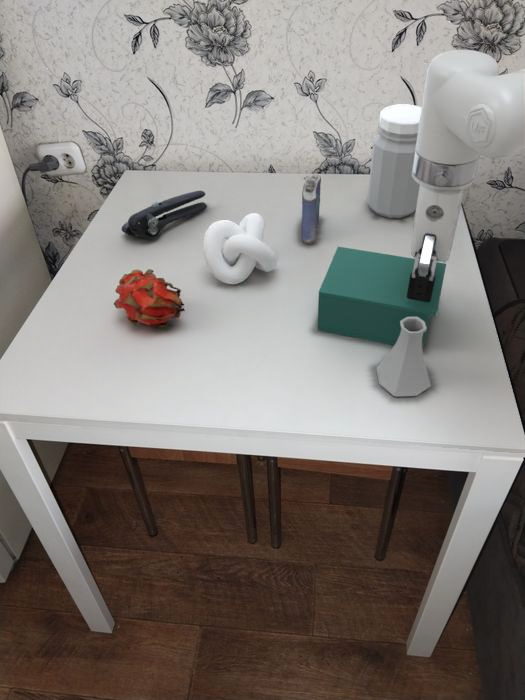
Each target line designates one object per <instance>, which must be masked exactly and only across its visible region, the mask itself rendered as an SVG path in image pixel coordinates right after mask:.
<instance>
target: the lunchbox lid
mask: <svg viewBox="0 0 525 700" xmlns="http://www.w3.org/2000/svg"><path fill="white" fill-rule="evenodd" d="M432 255H433V256H435V253H434V252H432ZM414 262H415V258H414V257H406V256H400V255H395V254H394V255H393V254H388V253H382V252H376V251H368V250H362V249H356V248H350V247H344V246H337V248H336V250H335V252H334V255H333V257H332V259H331V262H330V264H329V267H328V269H327V271H326V273H325V276H324V278H323V281H322V283H321V285H320V288H319V290H318V296H319V295H324V296H329V297H334V298H340V299H345V300H351V301H356V302H362V303H367V304H373V305H378V306H384V307H389V308H395V309H400V310H406V311H411V312H417V313H422V314H428V315H430V316H433V317H437V314H438V310H439V304H440V299H441V295H442V289H443V285H444V284H443V283H444V278H445V274H446V268H447V263H446V262H445V263H443V262H439V261H437V263H436V268H435V272H434V277H435V282H434V287H433V292H432V297H431V301H430V302H423V301H417V300H412V299H408V298H407V291H408V285H409V280H410V274H411V273H412V272H413V267H414ZM432 262H433V261H430V265H429V269H430V270H431V267H432ZM419 263H420V259H419ZM418 267H419V264H418Z"/></svg>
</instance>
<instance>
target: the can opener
mask: <svg viewBox="0 0 525 700" xmlns="http://www.w3.org/2000/svg"><path fill="white" fill-rule="evenodd" d="M205 196H206V192H205V191H204V190H195V191H191V192H187V193H183V194H180V195H176V196H174V197H173V196H172V197H170V198H167V199H165V200H162V201H160V202H158V201H153V203H152V204H151V205H150V206H148V207H146V208H144V209H142V210H139V211H138V212H135V213H134V214H132V215H130V216H129V218H128V219H127V221H126V222H125V223H124V224H123V225H122V226H121V231H122V232H123V233H124V234H125V235H127V236H129V237H138V238H140V239H144V240H154V239H156V238H158V237H159V236H160V234H161V232H162V230H163V229H164V228H165V227H166V226H167V225H169V224H170V223H173V222H176V221H179V220H182V219H186V218H189V217H192V216H194V215H196V214H198V213H200V212H202V211H204V210H205V209H206V208H207V207H208V205H207V204H206V202H202V201H200V202H197V203H193V204H191V205H187V204H190V203H192V202H195V201H197V200H200V199H202V198H204V197H205ZM185 205H187V206H185ZM182 206H185V207H182ZM180 207H181V208H180ZM178 208H179V209H178ZM161 215H162V216H161Z"/></svg>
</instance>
